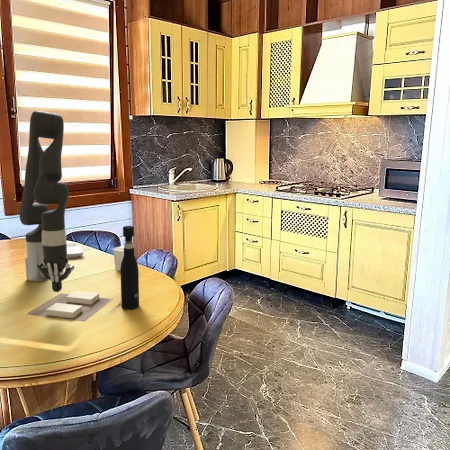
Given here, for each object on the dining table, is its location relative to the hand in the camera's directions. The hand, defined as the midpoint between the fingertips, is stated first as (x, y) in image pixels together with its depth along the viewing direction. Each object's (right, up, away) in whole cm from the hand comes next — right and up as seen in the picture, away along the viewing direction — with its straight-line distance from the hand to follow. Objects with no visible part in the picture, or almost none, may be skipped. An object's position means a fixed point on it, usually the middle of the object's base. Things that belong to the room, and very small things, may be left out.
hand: (57, 291), depth 141 cm
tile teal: (0, -4, +13) cm, 14 cm away
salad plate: (-29, +7, +75) cm, 80 cm away
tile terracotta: (-3, -6, +2) cm, 7 cm away
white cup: (+9, +2, +54) cm, 55 cm away
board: (+2, -8, +7) cm, 11 cm away
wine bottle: (+22, -8, +11) cm, 26 cm away
